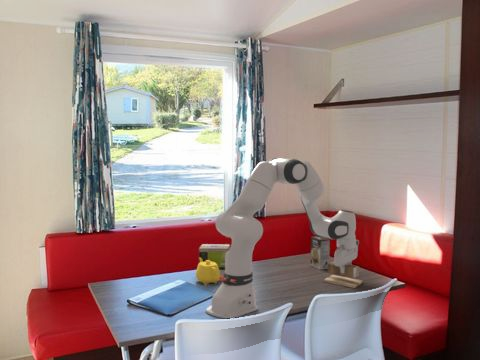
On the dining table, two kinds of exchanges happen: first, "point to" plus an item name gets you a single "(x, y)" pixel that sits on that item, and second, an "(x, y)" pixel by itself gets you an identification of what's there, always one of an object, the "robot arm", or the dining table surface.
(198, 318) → the dining table surface
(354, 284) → the beige flat slab
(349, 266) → the walnut post
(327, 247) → the coffee box
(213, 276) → the teapot
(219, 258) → the tea box
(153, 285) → the dining table surface
